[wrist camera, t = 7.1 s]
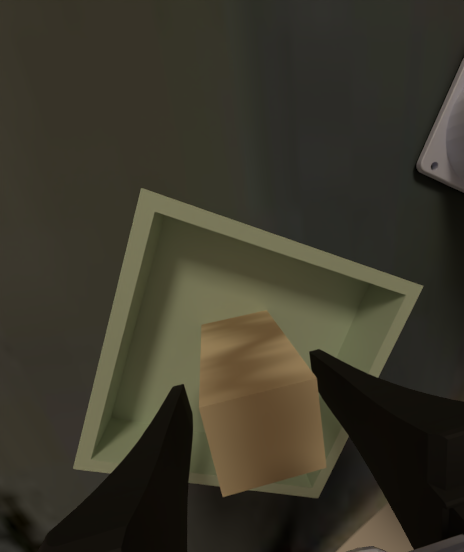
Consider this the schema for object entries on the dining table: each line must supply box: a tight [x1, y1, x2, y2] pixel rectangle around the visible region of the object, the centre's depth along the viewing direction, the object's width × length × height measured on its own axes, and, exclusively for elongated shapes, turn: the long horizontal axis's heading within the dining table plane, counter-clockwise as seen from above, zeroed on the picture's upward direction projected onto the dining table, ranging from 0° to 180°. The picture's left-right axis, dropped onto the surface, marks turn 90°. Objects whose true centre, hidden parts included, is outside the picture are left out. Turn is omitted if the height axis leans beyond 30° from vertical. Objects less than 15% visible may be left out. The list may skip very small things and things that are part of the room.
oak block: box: [199, 310, 327, 497], centre depth 12 cm, size 4×4×7 cm
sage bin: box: [73, 188, 423, 498], centre depth 15 cm, size 16×16×4 cm
